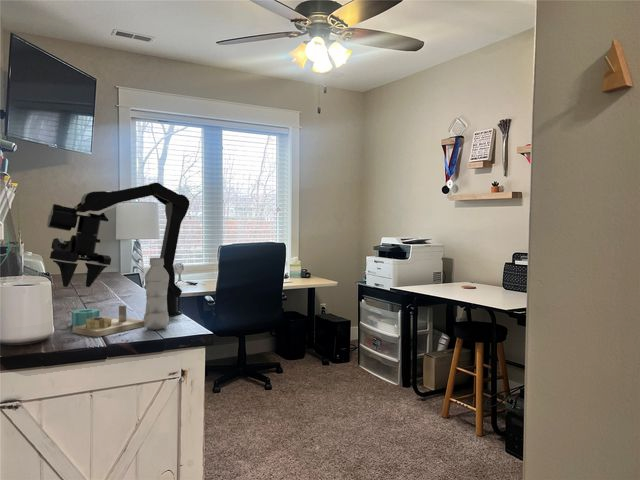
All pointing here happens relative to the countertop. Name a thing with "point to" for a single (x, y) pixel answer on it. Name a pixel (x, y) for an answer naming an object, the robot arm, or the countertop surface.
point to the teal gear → (83, 316)
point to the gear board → (110, 329)
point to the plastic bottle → (156, 295)
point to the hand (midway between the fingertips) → (76, 286)
